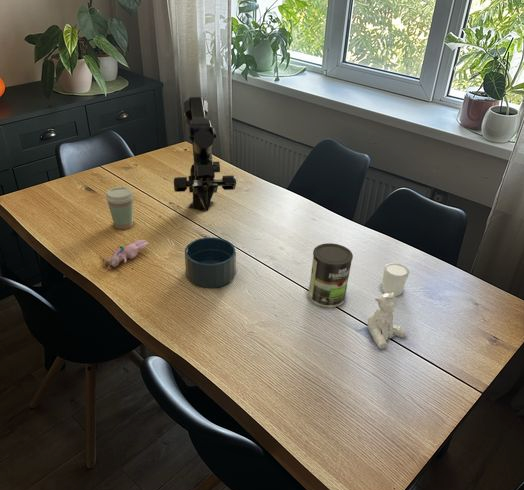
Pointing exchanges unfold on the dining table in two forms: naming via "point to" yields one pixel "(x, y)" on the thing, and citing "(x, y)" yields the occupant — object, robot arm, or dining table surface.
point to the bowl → (210, 262)
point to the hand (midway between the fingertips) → (207, 210)
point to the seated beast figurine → (384, 321)
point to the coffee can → (329, 274)
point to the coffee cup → (121, 206)
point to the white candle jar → (394, 278)
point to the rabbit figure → (125, 253)
